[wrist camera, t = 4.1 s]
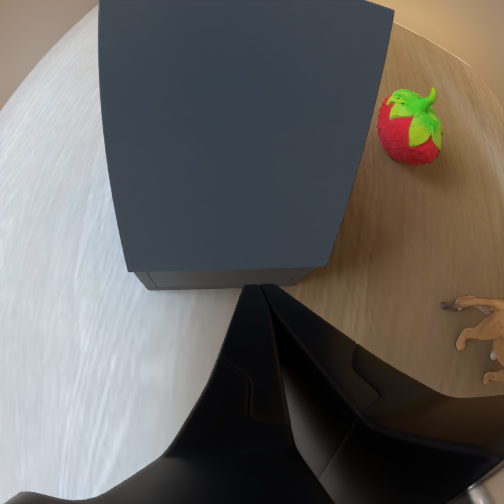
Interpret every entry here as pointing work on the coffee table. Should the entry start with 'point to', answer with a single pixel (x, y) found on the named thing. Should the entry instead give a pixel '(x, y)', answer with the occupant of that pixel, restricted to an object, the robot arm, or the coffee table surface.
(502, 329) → the lion figurine
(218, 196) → the lid
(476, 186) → the coffee table surface
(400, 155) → the strawberry
